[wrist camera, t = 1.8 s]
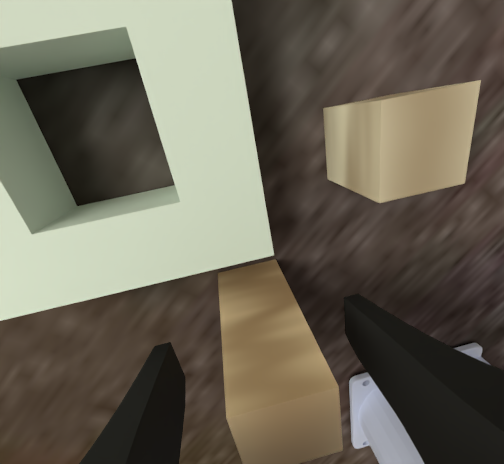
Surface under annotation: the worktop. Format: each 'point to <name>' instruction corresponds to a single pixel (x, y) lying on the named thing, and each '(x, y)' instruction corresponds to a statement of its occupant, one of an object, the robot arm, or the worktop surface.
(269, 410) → the long pin
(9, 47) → the socket
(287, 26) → the worktop surface
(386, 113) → the short pin
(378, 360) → the robot arm
